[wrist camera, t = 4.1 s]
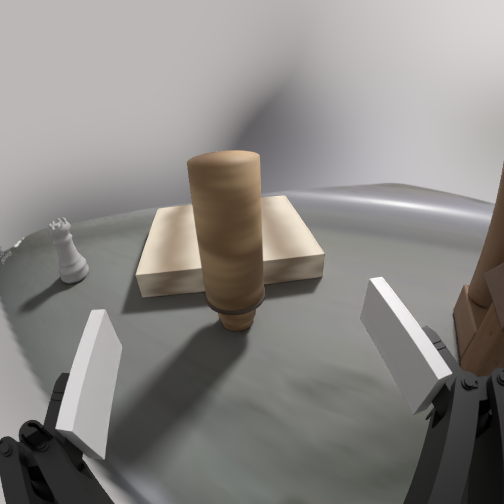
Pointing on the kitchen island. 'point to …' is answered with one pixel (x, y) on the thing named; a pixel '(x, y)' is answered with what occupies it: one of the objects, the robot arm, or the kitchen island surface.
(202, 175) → the oak leg
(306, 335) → the kitchen island surface
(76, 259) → the rook chess piece
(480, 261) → the wooden post with wedge
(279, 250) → the birch board
